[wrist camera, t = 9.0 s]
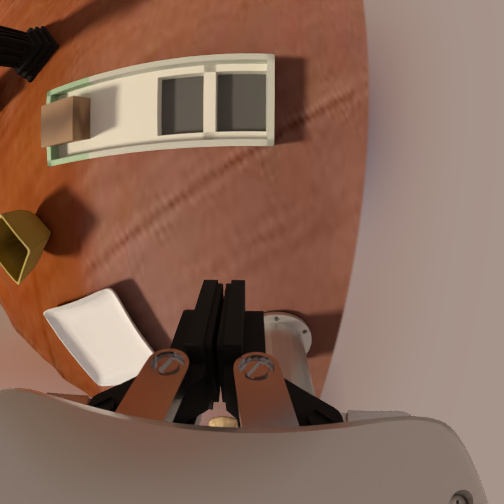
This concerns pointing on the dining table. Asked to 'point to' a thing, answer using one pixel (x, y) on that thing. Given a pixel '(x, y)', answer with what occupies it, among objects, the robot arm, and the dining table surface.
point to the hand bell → (223, 422)
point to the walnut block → (65, 121)
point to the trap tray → (174, 106)
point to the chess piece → (26, 50)
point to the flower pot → (21, 242)
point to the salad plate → (101, 337)
